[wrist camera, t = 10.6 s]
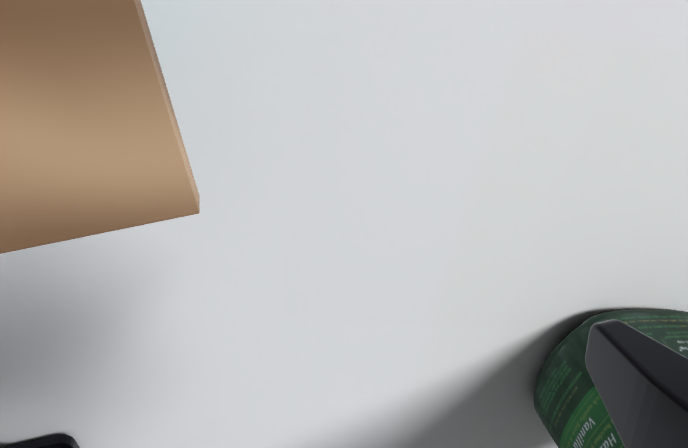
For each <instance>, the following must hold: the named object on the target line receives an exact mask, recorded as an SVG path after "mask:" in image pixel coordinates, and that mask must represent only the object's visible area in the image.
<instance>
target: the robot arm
mask: <svg viewBox="0 0 688 448" xmlns="http://www.w3.org/2000/svg"><path fill="white" fill-rule="evenodd" d="M585 362H586V367H587V370H588V372H589V374H590V376H591V378H592V380H593V382H594V385H595V387H596V389H597V391H598V393H599V395H600V397H601V399H602V401H603V403H604V405H605V407H606V409H607V411H608V413H609V416H610V418H611V420H612V422H613V424H614V426H615V428H616V430H617V432H618V434H619V436H620V438H621V440H622V442H623V444H624V446H625V448H688V358H687V357H685V356H683V355H681V354H679V353H678V352H676V351H674V350H672V349H670V348H669V347H667V346H665V345H663V344H661V343H660V342H658V341H656V340H654V339H652V338H651V337H649V336H647V335H645V334H644V333H642V332H640V331H638V330H636V329H635V328H633V327H631V326H629V325H627V324H626V323H624V322H622V321H620V320H616V319H611V320H607V321H603V322H598V323H595V324H593V325H592V326H591V328H590V332H589V337H588V343H587V349H586V355H585ZM6 448H79V446H78V444H77V443H76V441H75V440H74V439H73V438H72V437H71V436H68V435H57V436H53V437H49V438H44V439H40V440H36V441H31V442H27V443H23V444H18V445H14V446H10V447H6Z"/></svg>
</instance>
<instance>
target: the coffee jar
mask: <svg viewBox="0 0 688 448" xmlns="http://www.w3.org/2000/svg"><path fill="white" fill-rule="evenodd" d="M611 319H616V320H620V321H622V322H624V323H626V324H627V325H629V326H631V327H633V328H635V329H636V330H638V331H640V332H642V333H644V334H645V335H647V336H649V337H651V338H652V339H654V340H656V341H658V342H660V343H661V344H663V345H665V346H667V347H669V348H670V349H672V350H674V351H676V352H678V353H679V354H681V355H683V356H685V357H687V358H688V312H684V311H676V310H667V309H665V310H663V309H632V310H617V311H610V312H605V313H601V314H598V315H595V316H592V317H590V318H589V319H587V320H586V321H585V322H583V323H582V324H581V325H580V326H578V327H577V328H576V329H574V330H573V331H572V332H571V333H570V334H568V335H567V336H566V338H565V339H564V340H562V341H561V342H560V343H559V344H558V345H557V346H556V347H555V348H554V350H553V351H552V353H551V354H550V355H549V357H548V358H547V360H546V361H545V363H544V366H543V368H542V370H541V372H540V374H539V376H538V380H537V384H536V388H535V391H534V406H535V409H536V412H537V413H538V415H539V417H540V419H541V420H542V422H543V424H544V425H545V427H546V429H547V430H548V432H549V433H550V435H551V437H552V438H553V440H554V441H555V443H556V445H557V446H558V448H625V446H624V444H623V442H622V440H621V438H620V436H619V434H618V432H617V430H616V428H615V426H614V424H613V422H612V420H611V418H610V416H609V413H608V411H607V409H606V407H605V405H604V403H603V401H602V399H601V397H600V395H599V393H598V391H597V389H596V387H595V385H594V382H593V380H592V378H591V376H590V374H589V372H588V370H587V367H586V362H585V355H586V349H587V343H588V337H589V332H590V328H591V326H592V325H593V324H595V323H598V322H603V321H607V320H611Z"/></svg>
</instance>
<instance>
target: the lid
mask: <svg viewBox="0 0 688 448" xmlns="http://www.w3.org/2000/svg"><path fill="white" fill-rule="evenodd" d="M198 213H199V193H198V190H197V187H196V184H195V180H194V177H193V174H192V170H191V167H190V164H189V160H188V157H187V154H186V150H185V147H184V144H183V140H182V137H181V134H180V130H179V127H178V124H177V120H176V117H175V114H174V110H173V107H172V104H171V100H170V97H169V94H168V90H167V87H166V84H165V81H164V77H163V74H162V71H161V67H160V64H159V61H158V57H157V54H156V51H155V47H154V44H153V41H152V37H151V34H150V31H149V27H148V24H147V21H146V17H145V14H144V11H143V7H142V4H141V1H140V0H0V254H1V253H6V252H11V251H16V250H21V249H26V248H31V247H35V246H40V245H45V244H50V243H55V242H60V241H65V240H70V239H75V238H80V237H85V236H90V235H95V234H100V233H104V232H109V231H114V230H119V229H124V228H129V227H134V226H139V225H144V224H149V223H154V222H159V221H164V220H169V219H173V218H178V217H183V216H188V215H193V214H198Z"/></svg>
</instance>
